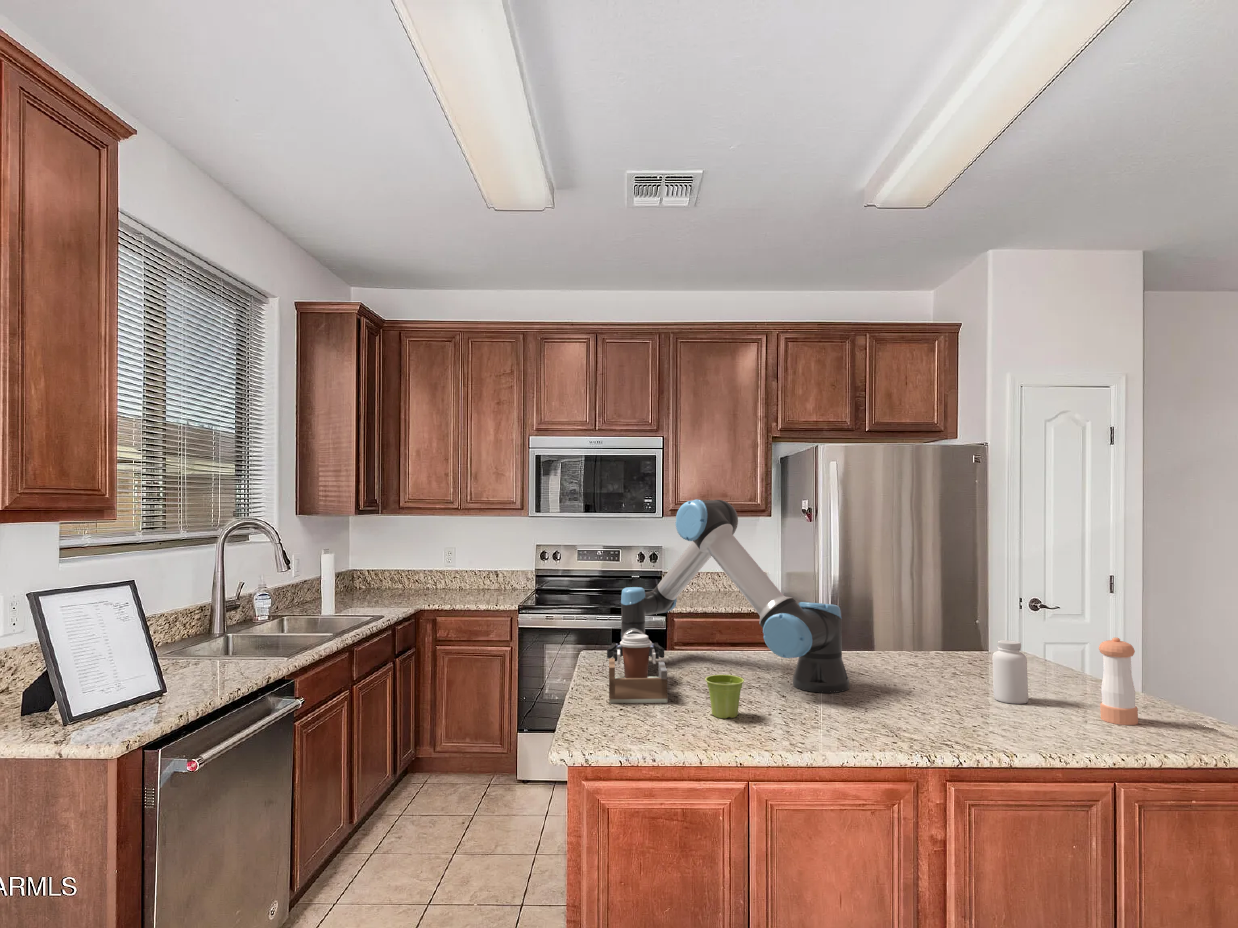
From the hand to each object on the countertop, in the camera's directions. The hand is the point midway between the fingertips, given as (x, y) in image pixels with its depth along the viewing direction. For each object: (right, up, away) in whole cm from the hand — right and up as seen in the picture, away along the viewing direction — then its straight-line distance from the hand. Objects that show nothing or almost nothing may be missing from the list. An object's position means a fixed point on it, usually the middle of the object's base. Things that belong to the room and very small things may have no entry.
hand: (636, 659), depth 207 cm
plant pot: (+21, -7, -25) cm, 33 cm away
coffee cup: (0, -7, +4) cm, 8 cm away
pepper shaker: (+112, -6, -32) cm, 117 cm away
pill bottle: (+96, -7, -14) cm, 97 cm away
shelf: (0, -8, -1) cm, 8 cm away
